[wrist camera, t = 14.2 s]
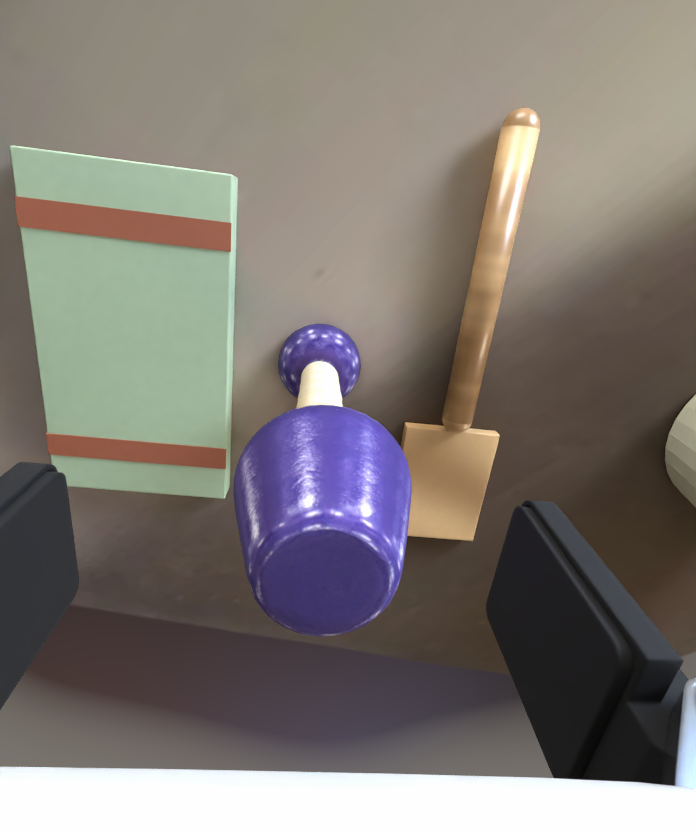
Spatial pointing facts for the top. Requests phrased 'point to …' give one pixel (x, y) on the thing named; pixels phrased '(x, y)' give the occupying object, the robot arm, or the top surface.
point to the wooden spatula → (471, 358)
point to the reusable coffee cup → (683, 452)
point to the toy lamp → (322, 497)
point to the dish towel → (131, 318)
